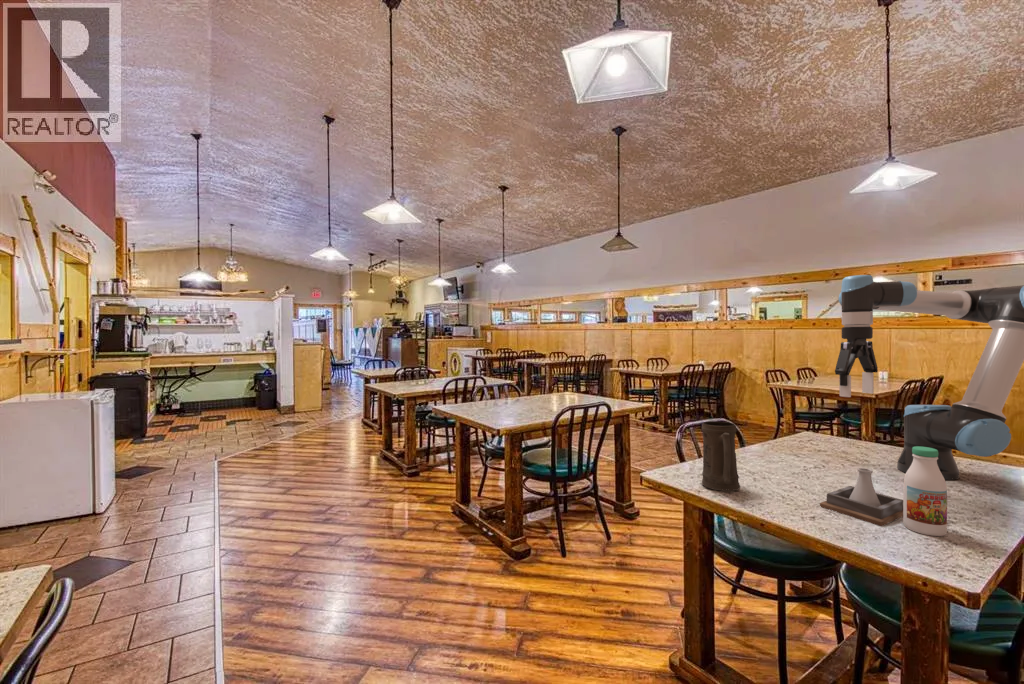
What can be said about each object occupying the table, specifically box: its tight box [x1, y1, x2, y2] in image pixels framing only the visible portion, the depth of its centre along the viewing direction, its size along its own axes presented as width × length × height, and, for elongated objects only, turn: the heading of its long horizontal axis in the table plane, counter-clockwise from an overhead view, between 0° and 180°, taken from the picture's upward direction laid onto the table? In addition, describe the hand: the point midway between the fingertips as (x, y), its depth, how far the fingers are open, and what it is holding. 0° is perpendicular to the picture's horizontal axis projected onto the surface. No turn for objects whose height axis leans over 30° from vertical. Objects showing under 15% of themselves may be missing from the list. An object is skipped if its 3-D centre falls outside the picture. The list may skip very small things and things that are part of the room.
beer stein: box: [701, 421, 741, 492], centre depth 134 cm, size 15×11×20 cm
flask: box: [849, 467, 881, 507], centre depth 118 cm, size 7×7×10 cm
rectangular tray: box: [819, 485, 903, 527], centre depth 118 cm, size 16×14×4 cm
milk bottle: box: [902, 446, 948, 537], centre depth 105 cm, size 8×8×20 cm
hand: (856, 394), depth 134 cm, fingers open, 13 cm apart
